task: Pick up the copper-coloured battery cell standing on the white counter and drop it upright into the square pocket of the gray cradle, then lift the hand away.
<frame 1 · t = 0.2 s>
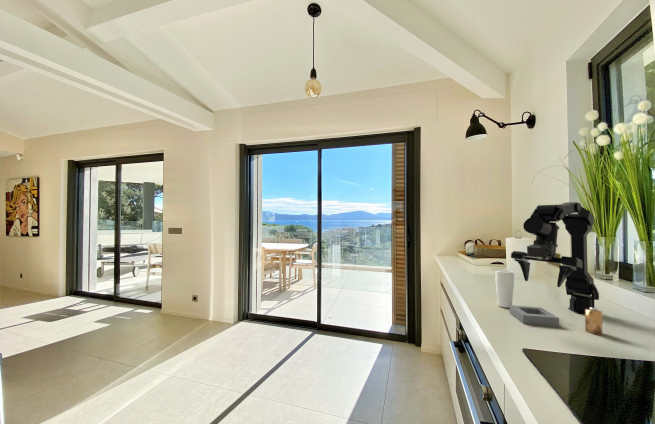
hand: (541, 283, 91), 15 cm above the table, tool pointing down, fingers open, 9 cm apart
drinking glass: (504, 306, 114), on the table
battery cell: (593, 332, 88), on the table
gray cradle: (532, 319, 99), on the table
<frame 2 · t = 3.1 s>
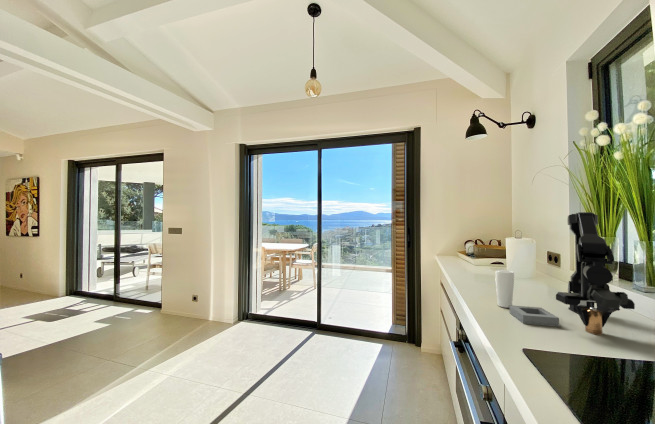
hand: (593, 326, 88), 2 cm above the table, tool pointing down, fingers closed on battery cell, 4 cm apart
battery cell: (593, 332, 88), on the table, touching gripper
everything else where it was.
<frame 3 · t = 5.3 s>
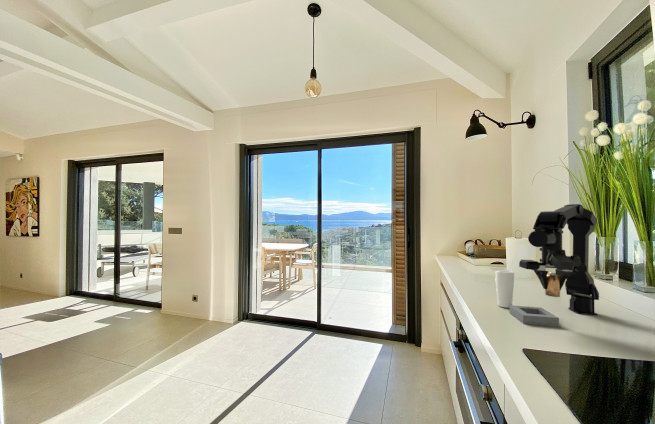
hand: (552, 289, 96), 12 cm above the table, tool pointing down, fingers closed on battery cell, 4 cm apart
battery cell: (552, 295, 95), point 10 cm above the table, touching gripper
everything else where it was.
when the fingers open (4 cm above the table, at t = 7.9 s): battery cell drops 2 cm, resting on gray cradle.
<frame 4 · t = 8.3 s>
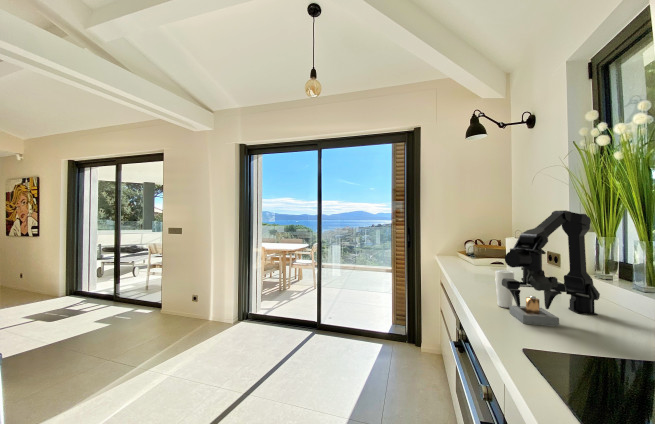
hand: (532, 308, 99), 4 cm above the table, tool pointing down, fingers open, 9 cm apart
battery cell: (532, 318, 99), point 1 cm above the table, touching gray cradle
everything else where it was.
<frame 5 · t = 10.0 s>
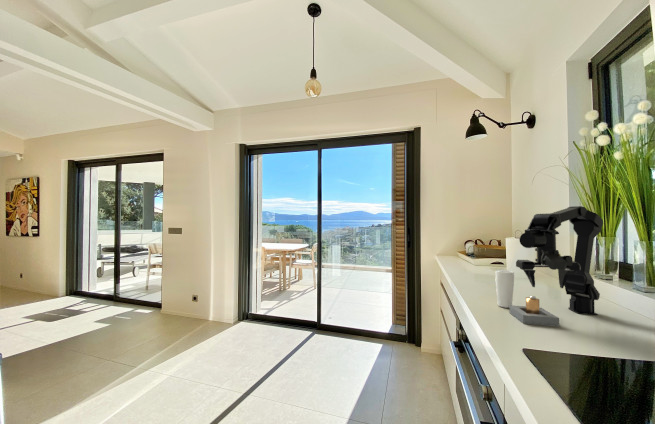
hand: (547, 287, 101), 11 cm above the table, tool pointing down, fingers open, 9 cm apart
nothing on the table moved.
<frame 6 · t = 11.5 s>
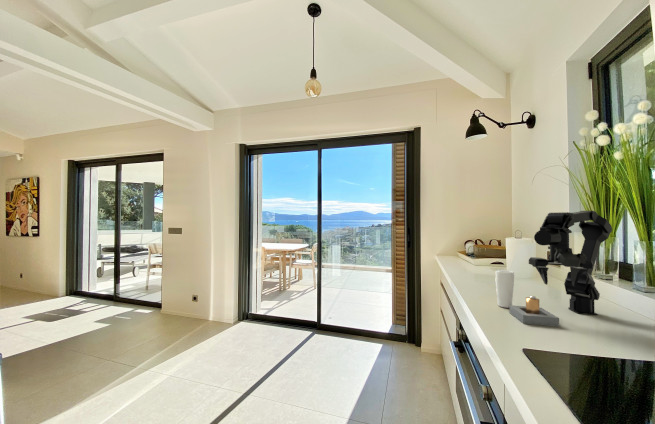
hand: (559, 285, 103), 12 cm above the table, tool pointing down, fingers open, 9 cm apart
nothing on the table moved.
at the end: battery cell 0.1 cm off-centre on the gray cradle, point 0.5 cm above the gray cradle's base; battery cell tilted 0°; the gripper is holding nothing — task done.
